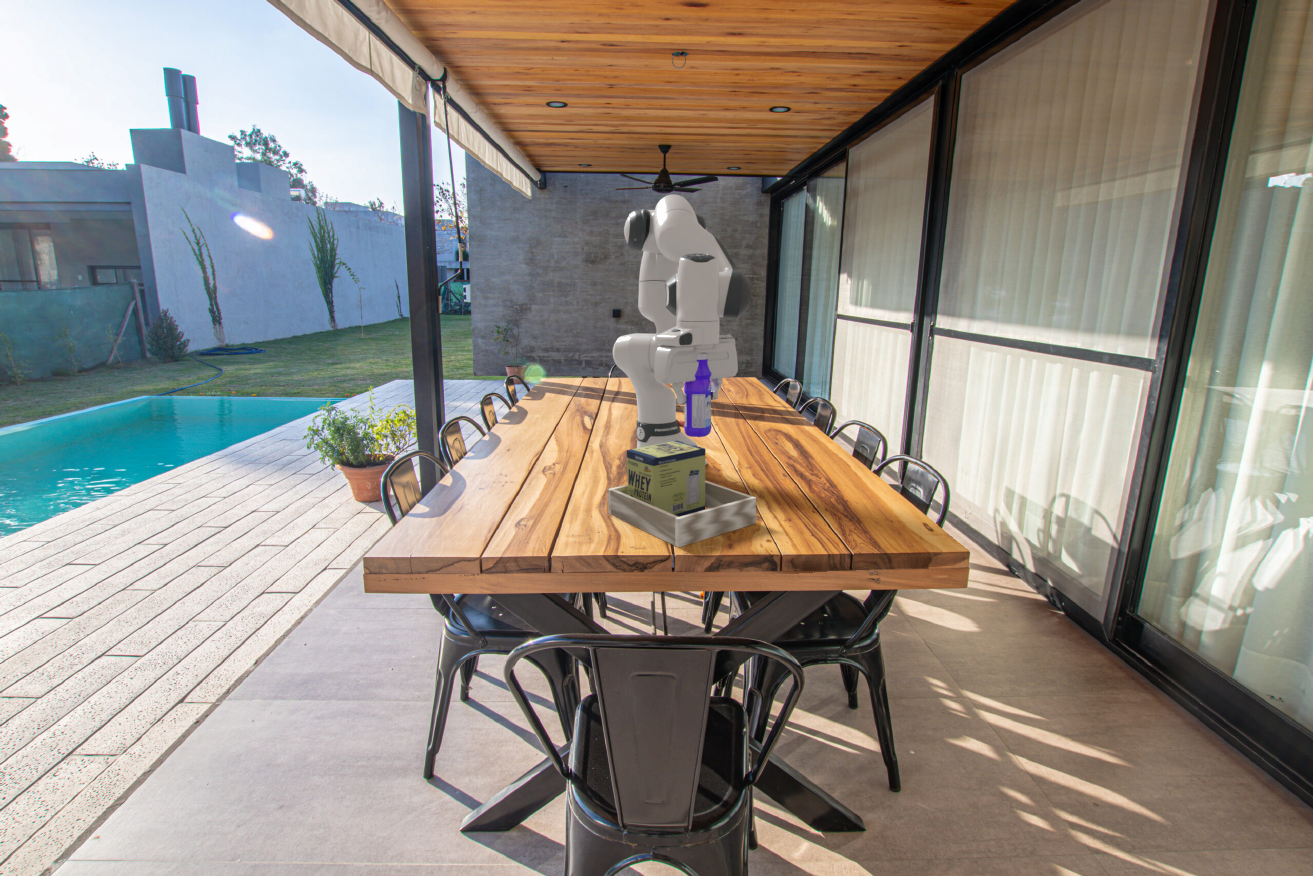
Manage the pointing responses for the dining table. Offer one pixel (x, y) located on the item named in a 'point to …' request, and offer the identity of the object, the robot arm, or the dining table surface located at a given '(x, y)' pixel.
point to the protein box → (668, 476)
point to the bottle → (698, 401)
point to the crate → (721, 518)
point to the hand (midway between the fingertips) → (697, 401)
